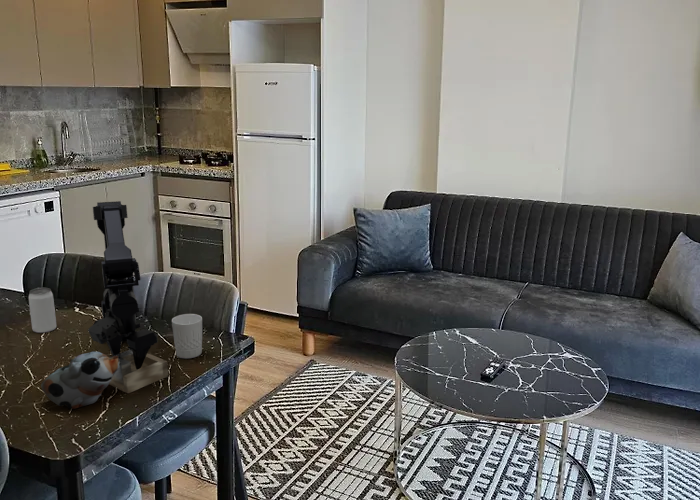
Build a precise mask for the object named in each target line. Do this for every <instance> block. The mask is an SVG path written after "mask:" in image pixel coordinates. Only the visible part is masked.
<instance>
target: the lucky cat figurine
mask: <svg viewBox="0 0 700 500" xmlns="http://www.w3.org/2000/svg"><path fill="white" fill-rule="evenodd" d="M109 357H110V356H108V355H107V354H104V353H102V352H100V351H91V352H87V353H82V354H78V355H77V356H75V355H74V356H72V357H71V358H70V359H69V361H70V362H69V364H68V365H65V366H62V367H59V368H58V369H56V370H54V372H53V373H50V374H49V375H48V376H47V377H46V378H44V380H43V381H42V383H41V385H40V387H41V390H42V392H43V393H44V394H45V395H46V397H47V398H48V399H49V400H50V401H51V402H53V403H54V404H56V405H57V406H59V407H62V406H66V407H67V408H68V409H70V410H76V409H78V408H81V407H82V408H83V407H85V406H88V405H92V404H94V403H96V402H97V401H98V399H99V398H100V397H101V396H102V393H103V392H104V390H105V389H106V388H107V387H108V386H109V385H110V384H109V383H110V382H111V380H112V377H113V375H114V374H115V372H116V371H117V370H118V369H119V364H120V361H121V360H119V358H118V356H114V357H112V358H109Z"/></svg>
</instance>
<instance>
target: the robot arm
mask: <svg viewBox="0 0 700 500" xmlns="http://www.w3.org/2000/svg"><path fill="white" fill-rule="evenodd" d="M127 206H128V205H127V204H122V201H121V200H117V201H104V202H103V201H102V202H101V201H100V202H99V201H98V202H96V205H95V206H92V214H93V220H94V221H96V225H97V228H98V229H99V231H100V232H101V233H102V234H103V237H104V238H103V239H104V249H105V250H104V251H103V260H102V261H101V270H102V278H103V286H104V291H103V300H101V311H102V318H99V319H97V320H95V321H94V322H93V325H91V326H90V327H88V329H87V332H88V333H89V335H90V337H91V339H92V340H93V342H97V343H98V344H100V345H104V344H107V346H108V348H109V351H110V353H111V354H112V356H114V355H117V354H120V353H121V348H122V342H125V341H126V343H127V345H128V346H127V349H128V350H129V349H130V350H131V351H132V352H133V357H134V362H135V366H136V369H137V370H138V369H140V368H141V367H142V364H143V362H144V360H145V357H146V355H147V353H148V354H149V351H150V349H151V347H152V346H154V345H155V344H157V343H158V333H156V332H155V331H153V330H149V329H146V328H143V329H141V330H138V331H137V329H140V328H141V323H140V322H138V321H137V313H138V312H140V308H139V303H138V300H137V296H136V294H135V291H134V287H136V286H139V285H140V284H139V281H141V275H140V267H139V262H137V259H136V258H134V257H133V255H132V249H131V248H129V247H128V246H127V245H126V244H125V237H124V230H123V229H124V227H125V225H126V221H125V219H127V218H129V217H128V208H127ZM133 277H134V278H133Z"/></svg>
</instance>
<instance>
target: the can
mask: <svg viewBox="0 0 700 500" xmlns="http://www.w3.org/2000/svg"><path fill="white" fill-rule="evenodd" d="M28 292H29V294H28V305H29V313H30V320H31V322H30V323H31V330H32V331H33V332H34V333H37V334H43V333H50V332H53V331H55V329H56V328H57V318H56V310H55V302H54V301H55V300H54V293H53V292H52V290H51V288H48V287H37V288H34V289H31V290H29V291H28Z"/></svg>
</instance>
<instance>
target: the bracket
mask: <svg viewBox="0 0 700 500" xmlns="http://www.w3.org/2000/svg"><path fill="white" fill-rule="evenodd" d="M114 356H118V358H119V360H121V361H120V364H119V369H118V370H117V371H116V372H115V374H114V375H113V377H112V380H114V381H116V382H118V383H120V384H122V385H124V383H123V376H124V375H127V374H129V373H132V372H134V371H137V369H136V366H135V362H134V357H133V352H132V351H131V350H129V349H128V350H126V351H123V352H120V354H117V355H114ZM114 356H113V355H112V356H108V357H109V358H112V357H114Z"/></svg>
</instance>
